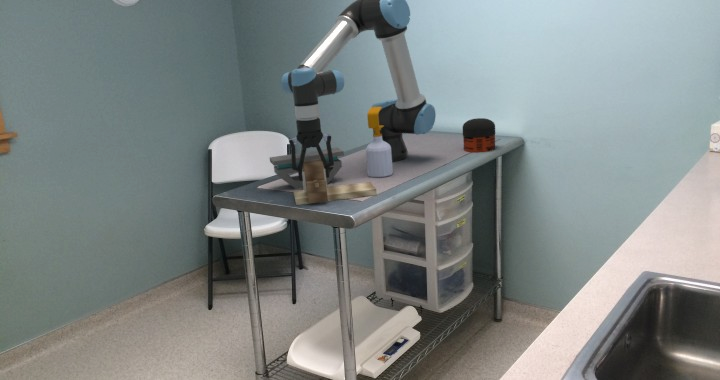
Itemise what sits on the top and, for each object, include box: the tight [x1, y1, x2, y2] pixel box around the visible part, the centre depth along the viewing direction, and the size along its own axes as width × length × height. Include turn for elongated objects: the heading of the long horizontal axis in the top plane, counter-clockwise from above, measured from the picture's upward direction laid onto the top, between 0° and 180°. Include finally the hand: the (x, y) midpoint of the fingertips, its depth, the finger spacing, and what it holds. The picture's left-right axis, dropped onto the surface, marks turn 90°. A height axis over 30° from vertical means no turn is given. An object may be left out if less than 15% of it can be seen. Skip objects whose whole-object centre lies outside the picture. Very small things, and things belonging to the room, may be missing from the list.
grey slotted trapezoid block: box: [269, 147, 345, 190], centre depth 220 cm, size 25×8×11 cm, turn 108°
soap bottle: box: [365, 106, 393, 178], centre depth 222 cm, size 9×9×25 cm
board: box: [293, 181, 377, 206], centre depth 203 cm, size 26×10×2 cm, turn 100°
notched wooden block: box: [303, 159, 329, 204], centre depth 198 cm, size 6×11×12 cm, turn 10°
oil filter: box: [462, 117, 496, 154], centre depth 252 cm, size 13×12×13 cm
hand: (315, 188), depth 201 cm, fingers closed on notched wooden block, 6 cm apart
